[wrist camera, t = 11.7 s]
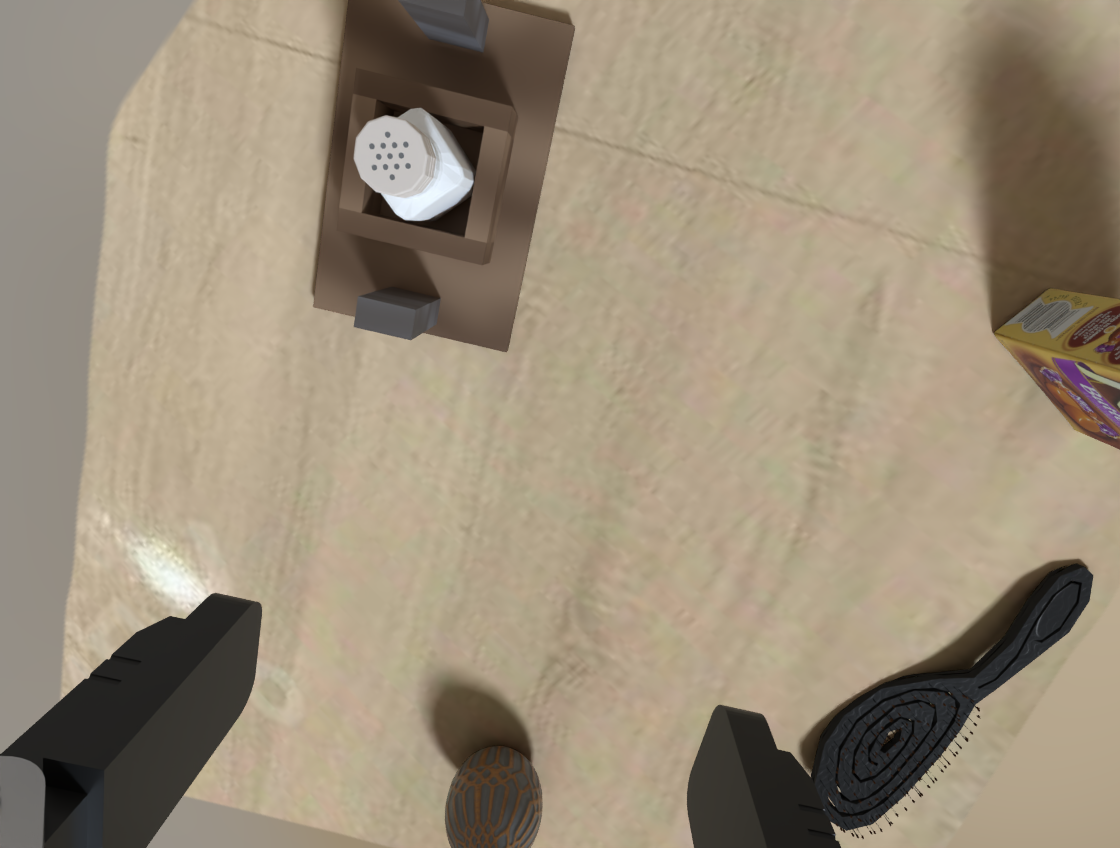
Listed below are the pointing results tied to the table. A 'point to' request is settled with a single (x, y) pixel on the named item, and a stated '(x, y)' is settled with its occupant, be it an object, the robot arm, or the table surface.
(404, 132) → the pepper shaker
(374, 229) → the shaker holder
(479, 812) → the vase
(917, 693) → the hairbrush
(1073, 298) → the candy box
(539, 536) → the table surface
